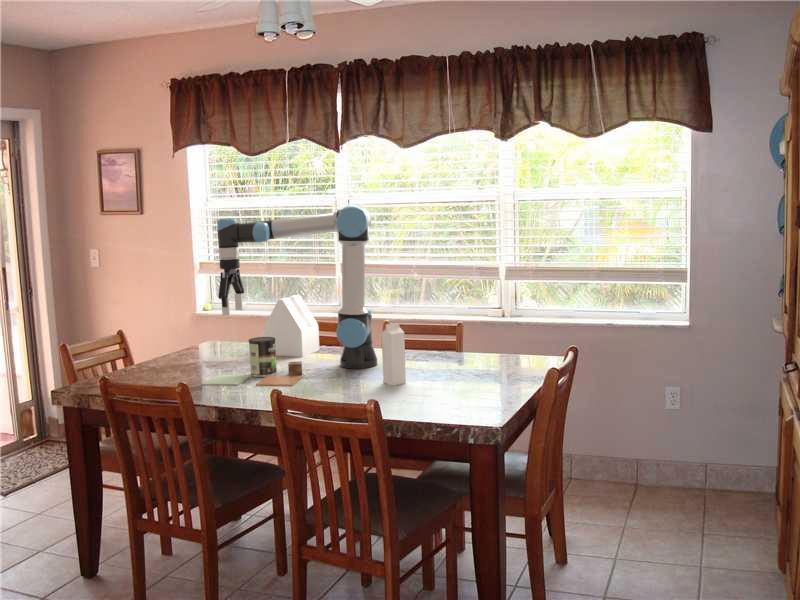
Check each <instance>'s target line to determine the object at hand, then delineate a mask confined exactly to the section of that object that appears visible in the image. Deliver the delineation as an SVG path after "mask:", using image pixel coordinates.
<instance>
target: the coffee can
mask: <svg viewBox="0 0 800 600" xmlns="http://www.w3.org/2000/svg"><path fill="white" fill-rule="evenodd" d="M248 345H249V346H248V347H249V361H250V362H249V363H250V375H251V377H256V378H265V377H267V376H268V375H277V373H278V370H277V355H276V347H275V338H274V337H263V336H258V337H252V338H249V339H248Z"/></svg>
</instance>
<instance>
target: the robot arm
mask: <svg viewBox="0 0 800 600" xmlns="http://www.w3.org/2000/svg"><path fill="white" fill-rule="evenodd" d="M371 225H372V215H371V214H370V212H369V210H368V209H367V208H366V207H364V206H362V205H358V204H351V205H348V206H345V207H343V208H341V209H340V208H339V209H335V211H334V212H330V213H329V212H327V213H321V214H313V215H312V214H311V215H304V216H297V217H288V218H287V217H286V218H280V219H273V220H270V219H269V220H261V221H255V222H245V223H244V222H238V219H237V218H236V217H235V218H232V217H231V218H228V217H227V218H219V219H218V220H217V225H216V227H217V241H218V250H217V253H218V256H219V257H218V258H219V259H220V260H219V268H220V270H223V272H220V279H219V280H220V281H219V282H220V283H219V289H218V299H220V300H221V314H222V316H225V317H226V316H227V317H228V316H231V314H230V313H231V311H230V309H231V308H230V298H228V297H229V292H230V288H231V285H232V287H233V291H234V292H235V293H234V303H235V304H234V305H235V306H234V307H235V311H243V310H244V307H243V294H244V293H245V288H244V286H243V281H242V278H241V274H240V273H241V272H240V269H239V268H240V267H241V263H240V258H239V257H240V249H239V248H240V247H239V244H240V243H241V244H242V243H257V244H258V243H263V242H264V243H267V242H268V241H270V240H275V239H283V238H294V237H302V236H309V235H310V236H312V235H318V234H319V235H321V234H327V233H328V234H329V233H337V234H338V235H337V236H338V237H337V239H338V242H339V244H340V245H341V249H342V256H341V258H342V259H341V261H342V262H341V276H342V277H341V281H342V282H341V284H342V285H341V286H342V287H341V289H342V290H341V308H340V309H339V310H338V313H337V327H336V332H335V334H336V338H337V340H338V341H339V342H340V343H341V345H342V346H343V348H342V352H341V356H340V360H339V366H340V367H341V368H344V369H367V368H372V367H376V366H378V357H377V355H376V351H375V348H374V345H373V327H372V317H373V316H372V312H371V311H372V310H370V309H369V308H365V283H366V282H365V272H366V271H365V267H366V266H365V264H366V262H365V259H366V254H365V251H366V247H365V246H366V245H367V244H368V243H369V241H370V239H369V238H370V237H369V236H370V227H371Z"/></svg>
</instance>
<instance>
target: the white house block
mask: <svg viewBox="0 0 800 600" xmlns="http://www.w3.org/2000/svg"><path fill="white" fill-rule="evenodd" d="M319 329H320V328H319V324H318V322H317V320H316V319H315V317H314V315H313V314H312V313H311V310H310V309H309V307H308V306H307V304H306V303H305V301H304V299H303V298H302V296H301V295H300V294H294V295H290V296H289V297H282V298H278V299H277V301H276V303H275V305H274V307H273V309H272V311H271V313H270V315H269V317H268V318H267V321H266V323H265V325H264V327H263V328H262V332H263V336H262V337H274V338H275V347H276V356H280V357H282V356H284V357H296V358H299V357H301V358H303V357H306V356H308V355H310V354H311V355H312V354H313V353H316V352H318V351H320V334H319V333H320V330H319Z"/></svg>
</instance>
